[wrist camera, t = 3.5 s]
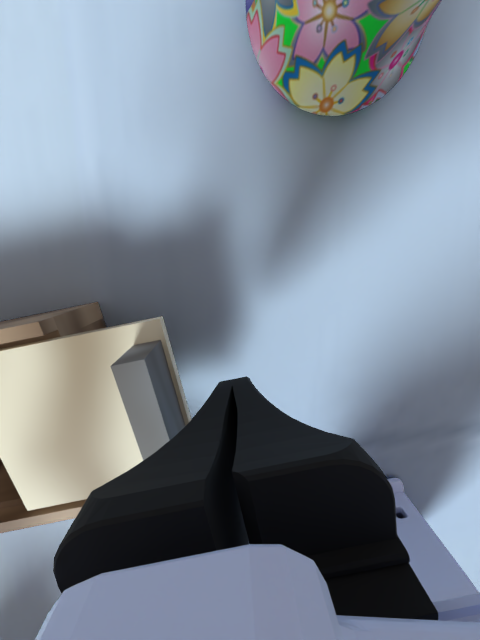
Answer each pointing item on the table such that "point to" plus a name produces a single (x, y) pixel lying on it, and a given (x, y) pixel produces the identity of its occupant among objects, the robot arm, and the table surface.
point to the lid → (87, 409)
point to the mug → (336, 48)
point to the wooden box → (3, 498)
